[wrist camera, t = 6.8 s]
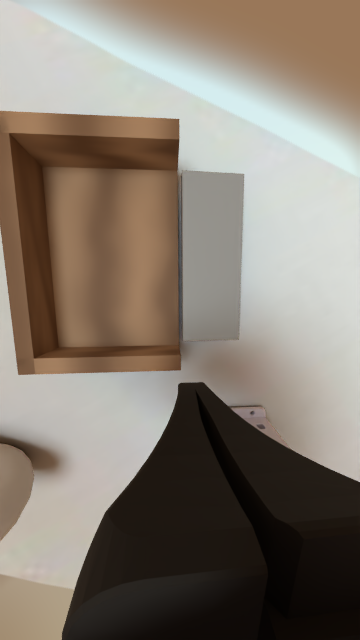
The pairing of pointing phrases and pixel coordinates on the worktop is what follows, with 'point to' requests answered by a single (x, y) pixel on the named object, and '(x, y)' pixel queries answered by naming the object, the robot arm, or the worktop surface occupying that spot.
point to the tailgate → (211, 254)
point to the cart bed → (91, 241)
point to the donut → (13, 485)
